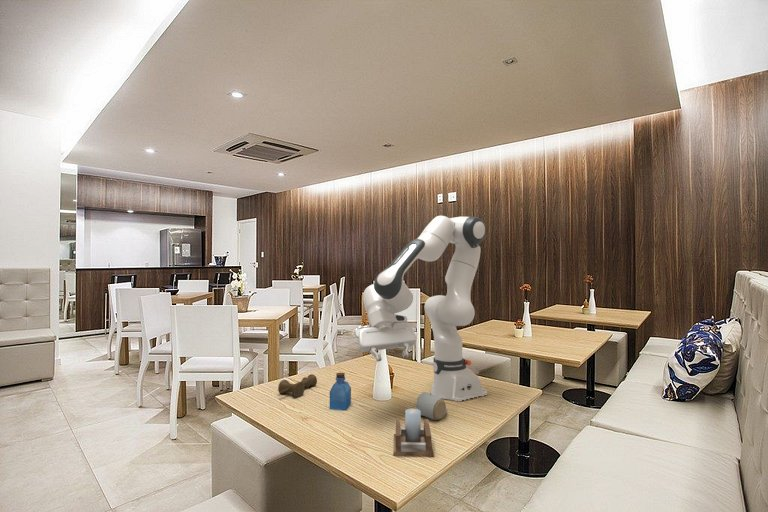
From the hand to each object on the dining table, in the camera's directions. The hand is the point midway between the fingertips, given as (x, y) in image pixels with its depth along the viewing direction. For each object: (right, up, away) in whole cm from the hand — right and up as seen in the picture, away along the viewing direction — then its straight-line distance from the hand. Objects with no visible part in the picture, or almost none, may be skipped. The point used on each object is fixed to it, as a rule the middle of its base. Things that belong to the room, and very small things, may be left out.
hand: (392, 358), depth 125 cm
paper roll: (+5, -20, -16) cm, 26 cm away
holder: (+5, -21, -16) cm, 27 cm away
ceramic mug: (+14, -22, +6) cm, 26 cm away
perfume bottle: (-19, -22, +14) cm, 32 cm away
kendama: (-38, -22, +30) cm, 53 cm away
